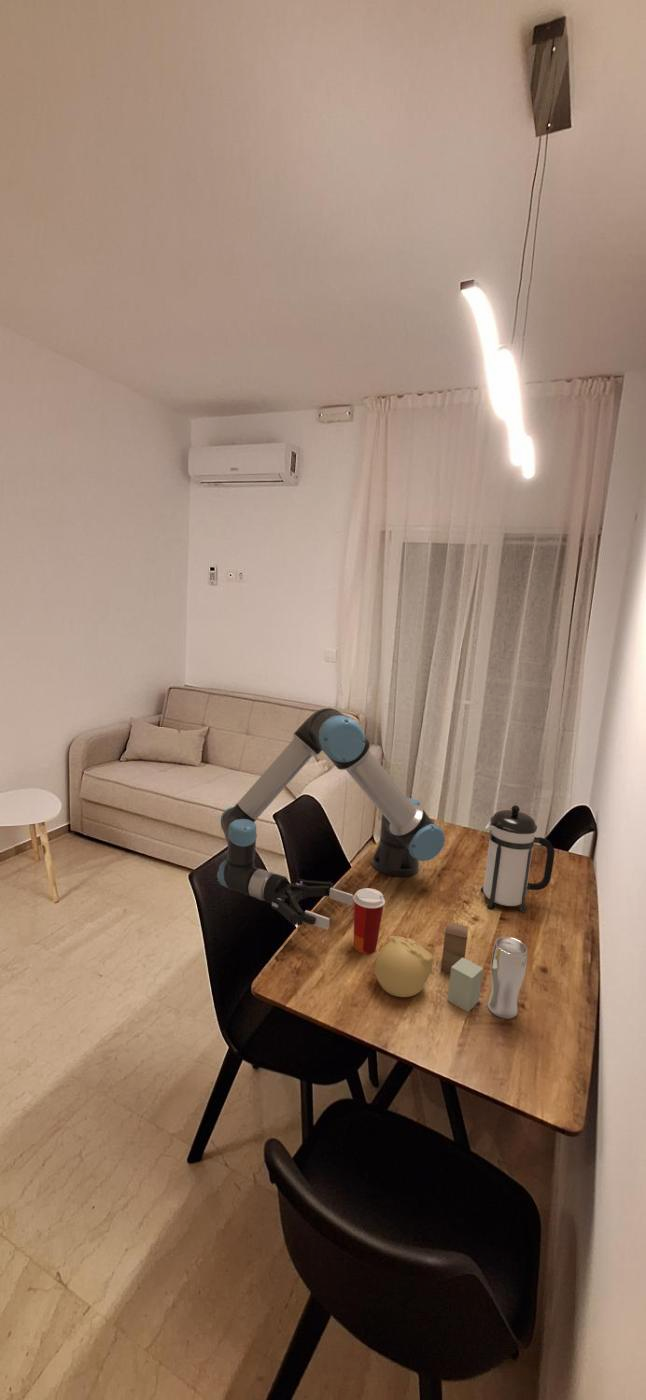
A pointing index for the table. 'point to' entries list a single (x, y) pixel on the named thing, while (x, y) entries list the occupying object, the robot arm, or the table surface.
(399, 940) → the sculpture
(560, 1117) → the table surface
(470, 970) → the sage block
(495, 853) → the coffee press
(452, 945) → the walnut block
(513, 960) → the beer glass
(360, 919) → the paper cup
